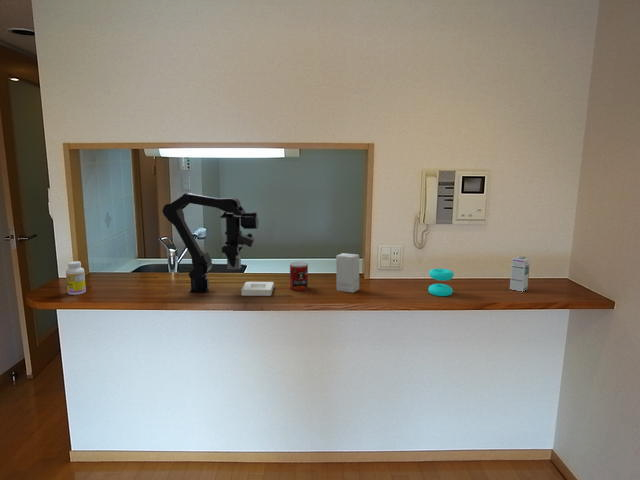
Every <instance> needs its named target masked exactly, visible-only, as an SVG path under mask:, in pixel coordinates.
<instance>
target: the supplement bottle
mask: <svg viewBox="0 0 640 480" xmlns="http://www.w3.org/2000/svg"><path fill="white" fill-rule="evenodd" d="M67 266H68V268H67V269H66V271H65V279H66V287H67V288H66V290H67V294H68V295H71V296H77V295H81V294H82V295H83V294H85V293H86V291H87V287H86V276H85V269H84V268H83V267H81V266H82V262H81V261H78V260H76V261H74V260H73V261H69V262H67Z"/></svg>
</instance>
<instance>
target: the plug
mask: <svg viewBox="0 0 640 480" xmlns="http://www.w3.org/2000/svg"><path fill="white" fill-rule="evenodd" d="M226 265H227V266H226V267H227V270H240V269H241V267H242V257H241V255H239V254H238V255H236V260H235V266H234V267H232V266H231V264H230V262H229V260H228V258H227V257H226Z"/></svg>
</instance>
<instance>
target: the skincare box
mask: <svg viewBox="0 0 640 480" xmlns="http://www.w3.org/2000/svg"><path fill="white" fill-rule="evenodd" d="M335 259H336V260H335V263H336V264H335V265H336V268H335V270H336V275H335V276H336V291H339V292H347V293H356V292H357V291H359V290H360V254H357V253H347V252H342V253H340V254H337V255H336V256H335Z"/></svg>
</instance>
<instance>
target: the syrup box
mask: <svg viewBox="0 0 640 480" xmlns="http://www.w3.org/2000/svg"><path fill="white" fill-rule="evenodd" d="M530 262H531V258H530V257H526V256H517V255H516V256H515V257H512V258H511V265H510V266H511V267H510V281H509V282H510V283H509V290H510V289H512V290H517V291H522V292H523V291H524V292H526V291H528V290H529V289H528V288H529V276H530V264H531V263H530ZM527 289H528V290H527ZM512 290H511V291H512ZM525 290H526V291H525ZM517 291H516V292H517ZM522 292H521V293H522ZM524 292H523V293H524Z"/></svg>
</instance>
